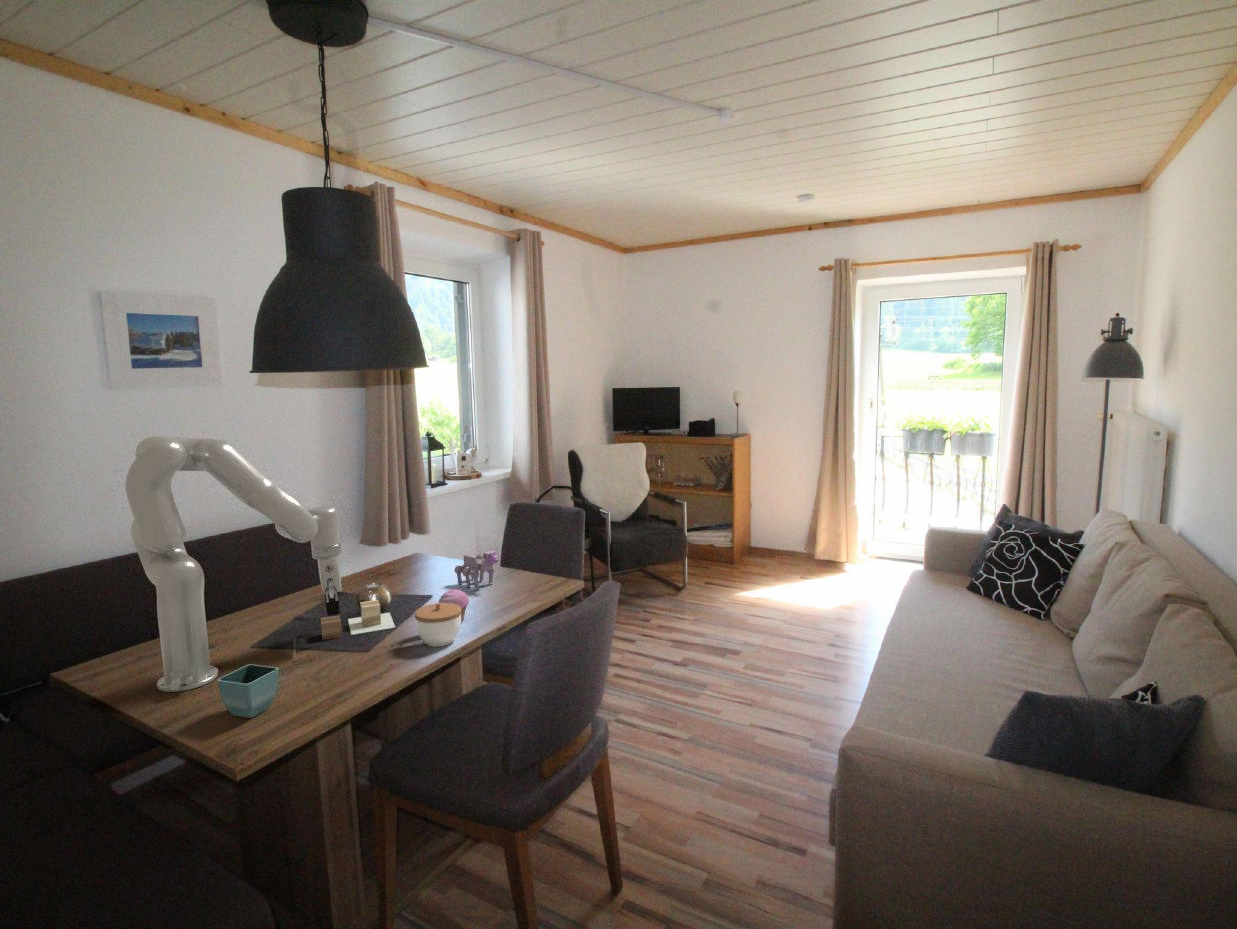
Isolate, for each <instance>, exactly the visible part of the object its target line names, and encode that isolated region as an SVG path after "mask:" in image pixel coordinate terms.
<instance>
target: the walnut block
mask: <svg viewBox="0 0 1237 929" xmlns="http://www.w3.org/2000/svg"><path fill="white" fill-rule="evenodd" d="M320 624H321V627H320V628H321V640H322V641H327V640H332V639H338V638H343V632H342V620H341V615H340V614H337V615H332V616H326V617H321V618H320Z"/></svg>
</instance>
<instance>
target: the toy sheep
mask: <svg viewBox="0 0 1237 929" xmlns="http://www.w3.org/2000/svg"><path fill="white" fill-rule="evenodd" d="M498 562H500V559H499V558H498V557H497V552H496V551H495V550H493V549H492V550H489V551H485V552H483V553H478V554H475V553H471V552H470V553H468V554H463V564H462V565H456V566H455V567H454V573H455V574H456V577H457V585H458V584H459V585H458V586H461V585H460V584H462V585H463V580H462V575H463V577H465V584H466V588H467V587H470V586H471V579H474V580H473V584H474V590H475V589H479V590H480V588H479V582H480V581H483V582H484V580H485V578H484V576H485V572H487V573H488V574H489V575H488V584H489V583H493V584H494V582H493V581H494V573H495V572H496V567H495V566H494V564H497V563H498ZM461 574H462V575H461ZM470 578H471V579H470ZM478 578H479V579H478ZM471 587H472V586H471ZM471 587H470V588H471Z"/></svg>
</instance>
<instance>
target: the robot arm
mask: <svg viewBox="0 0 1237 929" xmlns="http://www.w3.org/2000/svg"><path fill="white" fill-rule="evenodd" d="M177 472H207V473H208V474H209V475H211V476H212V477H213V478H214V479H215V480H216V481H217V482H219V483H220V484H221V485H222V486H224V488H226V490H228V491H229V492H230V493H231V494H232V495H234V496H235V497H236V498H237V499H238V500H239V501H240V502H242V503H243V504H244V505H245V506H248V508H251V509H253V510H255V511H257V512H259V513H260V514H261V515H263V516H265V517H266V518H268V519H269V520H270V521H272V522H273V523H274V528H275V530H276V532H277V533H278V534H279V535H280V536H282V537H284V538H286V539H289V540H290V541H291V540H292V541H294V542H296V543H299V544H300V543H301V544H303V543H308V542H310V546H311V557H312V559H313V560H317V566H318V567H317V568H318V573H319V574H318V575H319V580H320V585H321V589H322V593H323V594H324V599H325V600H324V601H325V607H326V608H325V609H326V617H332V616H338V615H340V614H341V611H340V603H339V599H338V592H342V590H343V587H342V579H341V578H342V577H341V570H340V569H341V568H340V560H339V557H340V556H342V546H341V535H340V534H341V533H340V525H339V516H338V509H337V508H336V507H334V506H332V505H326V506H324V505H323V506H316V507H313V508H310V509H308V508H307V509H306V508H305V507H303V505H301V504H300V503H299V502H298V500H296V499H295V498H293V496H291V495H289V494H288V493H287V492H286V491H285V490H283V489H282V488H281V487H280V486H279V485H278V484H277V483H276V482H274V481H273V480H272V479H270V477H268V476H267V475H266V474H265V473H264V472H262V470H260V469H259V468H258V467H257V466H256V465H255V464H254V463H253V462H251V460H250V459H248V457H246V455H244V454H243V453H242V452H241V451H240V450H239V449H237V447H235V446H234V445H232V444H231V443H229V442H228V441H226V440H220V439H218V438H217V439H215V438H196V437H195V438H193V437H192V438H191V437H181V436H180V437H179V436H177V437H176V436H162V435H153V436H149V437H147V438H146V437H145V438H144V439H142V440H141V441H140V442H139V443H138V445H137V446H136V448H135V459H134V461H132V463H131V465H130V467H129V469H128V472H127V474H126V476H125V477H126V478H125V493H126V498H127V500H128V504H129V506H130V510H131V513H132V516H133V521H132V524H131V526H130V533H131V534H130V535H131V538H132V541H133V543H134V547H135V549H136V552H137V555H138V557H139V560H140V562H141V565H142V567H143V570H144V573H145V575H146V577H147V578H148V580H149V581H150V582H151V583H152V584H153V585H154V586H155V589H156V613H157V623H158V624H157V625H158V630H159V631H158V632H159V638H160V639H159V640H160V650H161V660H162V667H163V668H162V669H163V676H162V677H159V679H158V680H157V682H156V687H157V689H158V690H159V691H162V692H165V693H166V692H167V693H173V692H175V693H176V692H177V693H178V692H182V691H188V690H189V691H190V690H193V689H196V688H199V687H203V686H205V685H207V684H209V683H211V682H213V681H214V680H215V679H216V678H217V677H218V676H219V669H218V668H217V667H215V666H213V665H211V660H210V649H209V640H208V629H207V618H206V609H205V608H206V607H205V574H204V571H203V568H202V566H201V564H200V563H199V562H198V561H197V560H196V559H195V558H193V557H192V556H190V555H189V554H188V552H187V550H186V546H185V544H184V542H185V539H186V527H185V525H184V523H183V520H182V518H181V515H180V512H179V510H178V507H177V504H176V502H175V498H174V495H173V491H172V480H173V478H174V476H175V475H176V473H177Z"/></svg>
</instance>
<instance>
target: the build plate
mask: <svg viewBox="0 0 1237 929" xmlns="http://www.w3.org/2000/svg"><path fill="white" fill-rule="evenodd" d="M380 615H381V624H380V625H374V626H368V627H363V625H362V620H361V616H358V617H352V618H348V619H347V620H348V621H347V622H348V626H349V631H350V635H351V636H353V635H358V634H365V633H370V632H371V633H372V632H377V631H381V630H388V629H393V628H396V626H395V623H394V621H393V617H392V615H391V612H384V613H380Z"/></svg>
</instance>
